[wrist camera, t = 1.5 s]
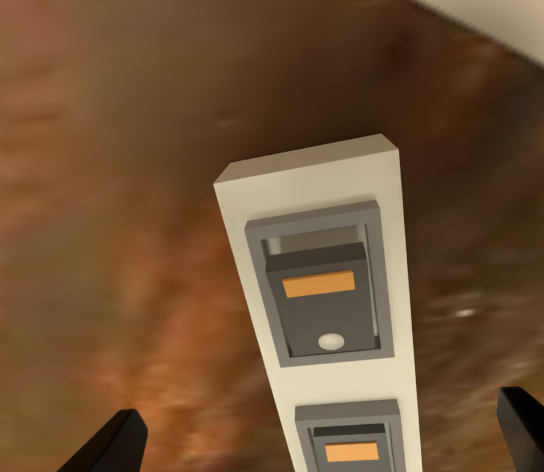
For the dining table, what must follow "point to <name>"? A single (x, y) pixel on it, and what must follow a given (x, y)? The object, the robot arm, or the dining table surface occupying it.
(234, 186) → the switch box
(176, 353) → the dining table surface
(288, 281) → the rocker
